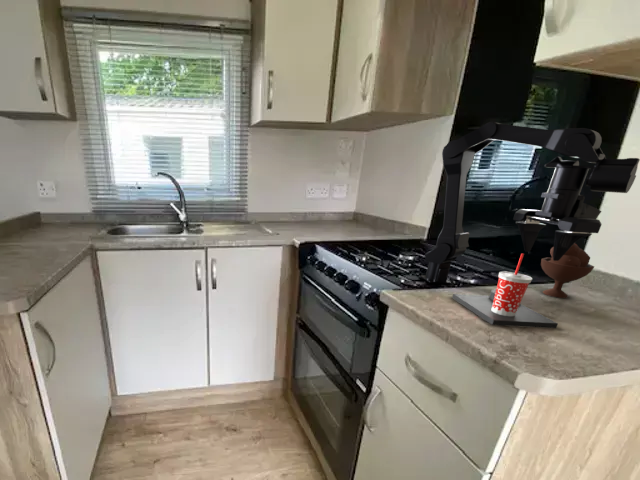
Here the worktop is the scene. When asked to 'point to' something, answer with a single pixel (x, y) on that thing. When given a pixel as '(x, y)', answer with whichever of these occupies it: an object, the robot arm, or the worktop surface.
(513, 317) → the scale
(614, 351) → the worktop surface
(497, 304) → the beverage cup
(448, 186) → the robot arm
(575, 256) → the ice cream bowl
